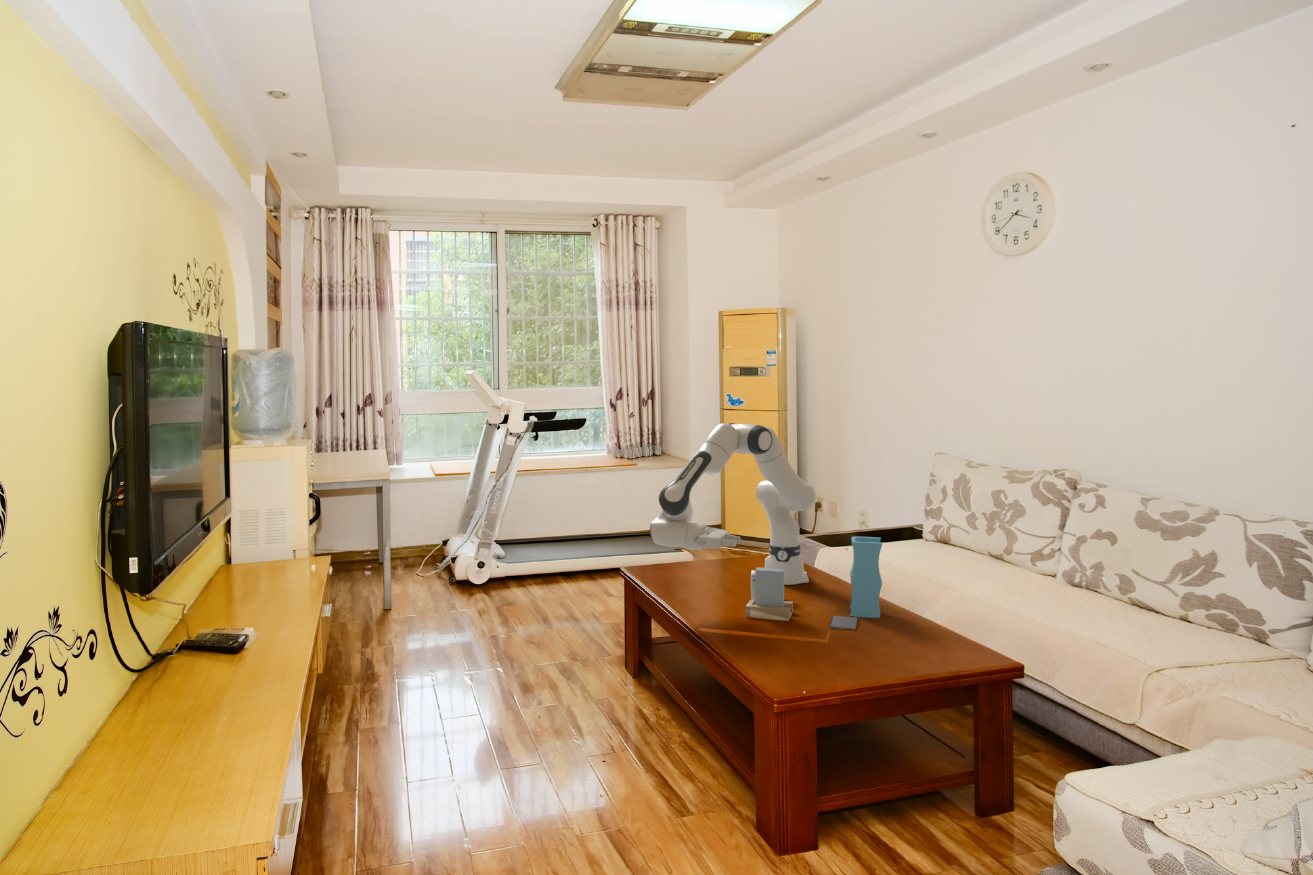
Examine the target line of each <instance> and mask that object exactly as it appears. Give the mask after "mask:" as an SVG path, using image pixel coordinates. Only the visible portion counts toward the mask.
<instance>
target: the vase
mask: <svg viewBox="0 0 1313 875" xmlns="http://www.w3.org/2000/svg"><path fill="white" fill-rule="evenodd" d="M881 540H882V538H881V537H873V536H851V544H852V551H853V552H852V553H853V554H852V556H853V558H852V559H853V560H852V565H851V570H850V574H849V577H850V578H849V579H850V586H851V600H850V605H849V610H850V616H854V617H856V618H869V619H880V618H881V610H880V594H881V590H882V586H883V581H882V577H881V576H882V575H881V572H880V568H879V566H880V565H879V564H880V563H879V560H880V555H881V551H882V547H883V542H881ZM850 616H849V617H850Z"/></svg>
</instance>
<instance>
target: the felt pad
mask: <svg viewBox="0 0 1313 875" xmlns="http://www.w3.org/2000/svg"><path fill="white" fill-rule="evenodd" d="M858 619H859V617H850V616H842V615H841V616H840V615H832V616H831V619H830V622H829V626H828V629H835V628H836V630H837V629H838V630H846V629H852V630H851V631H856V629H857V624H858Z"/></svg>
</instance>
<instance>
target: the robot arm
mask: <svg viewBox="0 0 1313 875" xmlns="http://www.w3.org/2000/svg"><path fill="white" fill-rule="evenodd" d="M733 453H736V454H741V455H745V454H746V455H753V456H754V459H755V462H756V464H757V468H758V470H759V472H760V474H761V476H762V477H763V478H764V480H761V481H760V482H759V483H758V485H756V486H757V487H756V490H755V496H756V499H757V502H759V503H760V505H761V506H762V507H763V508H764V511H765V513H766V516H767V518H768V522H769V533H770V534H769V535H770V536H769V537H770V539H769V540H770V541H769V542H770V543H769V546H768V556H766V557H765V559H764V568H772V569H784V586H785V585H790V586H791V585H799V584H805V583H806V584H807V583H809V582H810V581H809V580H810V579H809V577H808V574H807V571H806V570H805V568H804V560H803V558H802V557H801V545H800V524H799V523H798V522H797V520H796V519H795V518H794V517H793V516H792V514H791V512H790V511H794V512H804V511H809V510H811V509H812V507H813V506H815V504H816V501H817V500H816V499H817V495H816V490H815V489H814V488H813V487H812V486H811V485H809V484H808V483H807V482H805V481H804V480H803V479H802V478H801V477H800V476H799V475H798V474H797V472H796V471H795V470H794V468H793V467H792V466H791V464H790V463H789V460H788V457H787V455H786V453H785V451H784V448H783V446H782V443H781V441H780V439H779V437H778V435H777V434H776V433H775V431H774V429H772V428H771V427H769V426H766V425H760V424H757V425H756V424H754V423H747V422H746V423H734V422H730V423H727V422H724V423H719V424H717V425H716V426H715V427H714V428H713V429H712V430H711V431H710V432H709V434H708V435H707V436H706V437H705V439H704V440H703V442H702V443H701V444H700V446H699V448H698V450H697V451H696V453H694V455H693V456H692V457H691V458H690V459H689V461H688V462H687V463H686V465H684V467H683V469H682V470H681V471H680V472H679V474H678V475H677V477H675V479H674V480H672V481H671V482H670V483H668V484H666V486H664V487H663V488H662V490H661V491H660V492H659V495H658V503H659V505H660V508H661V509H662V510H661V511H660V513H659V514H658V516H656V518H654V519H653V520H651V522H650V525H649V526H650V527H649V531H650V532H649V533H650V538H651V540H652V542H653V543H654V544H656V545H659V546H662V547H663V546H664V547H669V548H682V549H686V550H693V551H702V549H703V548H705V549H711V550H720V549H721V548H722V547H733V548H734V547H736V546H737V543H740V542H741V536H736V535H733V534H729V531H728V530H725V529H723V528H717V527H712V526H708V525H707V524H704V523H696V522H691V521H692V518H693V514H694V512H693V511H694V510H693V507H692V503H691V501H690V500H691V498H690V497H691V491H692V490H693V488H694V486H695V485H696V484H697V483H698V481H699V480H700V478H701V477H702V476H703V475H704V474H707V475H716V474H719V473H720V472H721V471H722V470H723V469H724V468H726V467H725V466H726V465H727V464H728V463H729V461H730V459H731V457H732V455H733Z"/></svg>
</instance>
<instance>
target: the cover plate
mask: <svg viewBox="0 0 1313 875" xmlns="http://www.w3.org/2000/svg"><path fill="white" fill-rule="evenodd" d="M754 571H755V605H761V606H774V607H784V601H785V585H784V569H772V568H765V567H756V568H755V570H754Z"/></svg>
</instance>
